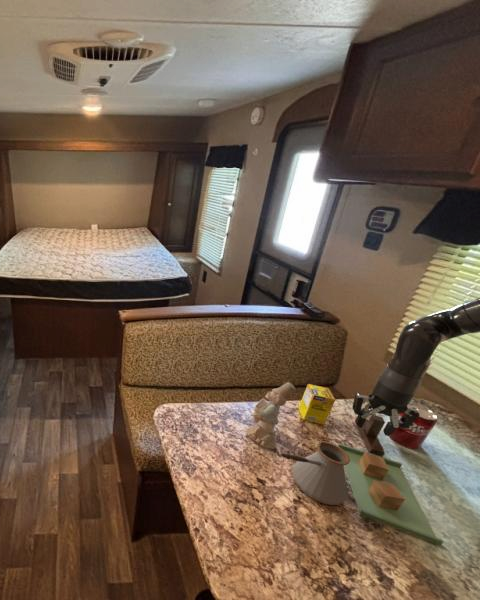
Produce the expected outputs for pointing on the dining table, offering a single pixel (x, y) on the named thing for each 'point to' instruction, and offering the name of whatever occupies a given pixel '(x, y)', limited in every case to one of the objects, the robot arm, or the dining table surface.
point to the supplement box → (316, 404)
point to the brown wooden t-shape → (372, 435)
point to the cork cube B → (386, 495)
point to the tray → (402, 519)
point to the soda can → (415, 428)
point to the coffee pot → (322, 473)
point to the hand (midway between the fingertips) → (372, 429)
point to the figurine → (268, 416)
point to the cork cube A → (373, 466)
